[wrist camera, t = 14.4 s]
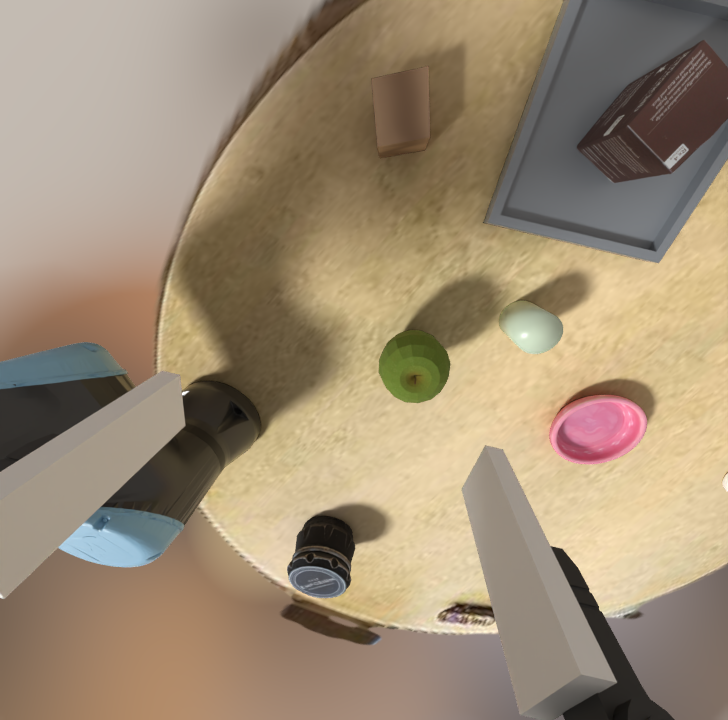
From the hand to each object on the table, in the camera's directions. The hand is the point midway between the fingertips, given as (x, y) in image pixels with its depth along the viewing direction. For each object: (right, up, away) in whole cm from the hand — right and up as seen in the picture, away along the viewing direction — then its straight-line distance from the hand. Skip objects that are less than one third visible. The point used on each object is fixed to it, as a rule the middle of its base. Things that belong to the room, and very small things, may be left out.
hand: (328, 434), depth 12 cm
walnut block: (+5, +28, +18) cm, 34 cm away
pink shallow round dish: (+36, -6, +32) cm, 49 cm away
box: (+27, +26, +16) cm, 41 cm away
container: (-6, -35, +50) cm, 61 cm away
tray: (+27, +26, +17) cm, 41 cm away
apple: (+8, +6, +29) cm, 30 cm away
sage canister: (+22, +9, +25) cm, 35 cm away
